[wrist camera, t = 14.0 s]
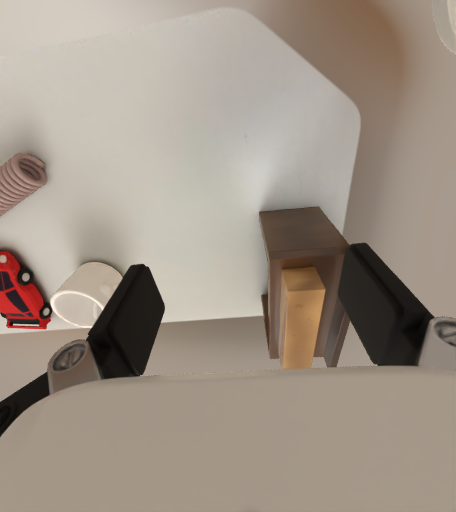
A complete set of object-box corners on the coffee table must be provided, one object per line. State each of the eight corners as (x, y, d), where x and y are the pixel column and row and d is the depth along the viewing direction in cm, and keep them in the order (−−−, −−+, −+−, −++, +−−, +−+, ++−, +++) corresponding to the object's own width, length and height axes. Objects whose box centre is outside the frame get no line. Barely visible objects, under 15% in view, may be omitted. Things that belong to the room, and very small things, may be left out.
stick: (314, 266, 28) (325, 289, 24) (302, 352, 38) (309, 377, 34) (281, 269, 28) (287, 291, 25) (278, 353, 38) (282, 378, 35)
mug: (141, 298, 51) (125, 333, 44) (99, 303, 52) (76, 338, 45) (117, 255, 44) (93, 286, 37) (69, 262, 46) (37, 294, 38)
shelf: (318, 206, 38) (366, 266, 24) (307, 297, 50) (335, 371, 36) (258, 211, 39) (272, 272, 25) (261, 299, 50) (271, 373, 37)
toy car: (16, 246, 44) (-6, 261, 40) (63, 316, 55) (49, 334, 51) (-36, 247, 44) (-64, 262, 40) (21, 316, 55) (3, 334, 51)
